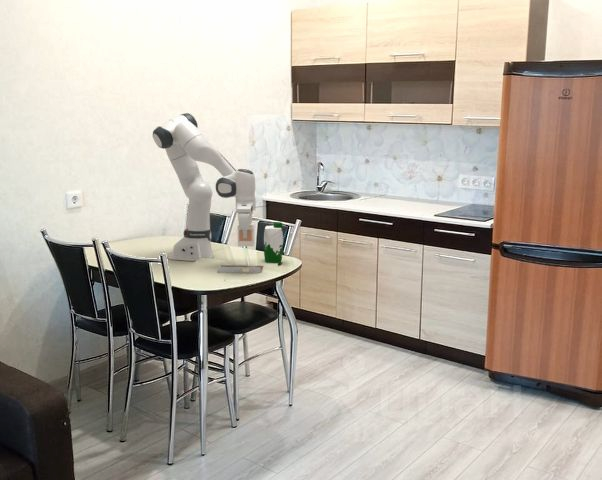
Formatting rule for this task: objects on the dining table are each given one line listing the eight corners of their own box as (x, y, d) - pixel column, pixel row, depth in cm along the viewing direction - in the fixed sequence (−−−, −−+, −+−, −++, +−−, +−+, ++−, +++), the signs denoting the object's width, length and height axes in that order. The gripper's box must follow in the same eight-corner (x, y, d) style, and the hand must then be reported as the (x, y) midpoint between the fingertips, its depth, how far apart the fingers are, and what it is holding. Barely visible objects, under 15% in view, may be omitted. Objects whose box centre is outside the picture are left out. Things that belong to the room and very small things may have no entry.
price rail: (217, 272, 284) (217, 267, 284) (218, 272, 285) (218, 266, 285) (260, 273, 284) (260, 267, 283) (260, 272, 285) (260, 267, 284)
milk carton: (282, 265, 303) (282, 224, 299) (263, 265, 304) (263, 224, 300) (283, 261, 312) (283, 221, 308) (264, 261, 312) (264, 221, 308)
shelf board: (216, 275, 285) (216, 272, 284) (221, 267, 298) (221, 265, 298) (261, 275, 284) (261, 273, 284) (263, 268, 298) (263, 265, 298)
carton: (237, 246, 284) (237, 226, 282) (239, 244, 289) (238, 224, 287) (253, 246, 284) (253, 226, 282) (254, 244, 289) (254, 224, 287)
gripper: (241, 202, 293) (241, 232, 296) (235, 209, 273) (236, 240, 276) (254, 202, 293) (255, 232, 296) (250, 209, 273) (250, 240, 275)
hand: (246, 236), depth 285 cm, fingers closed on carton, 5 cm apart
